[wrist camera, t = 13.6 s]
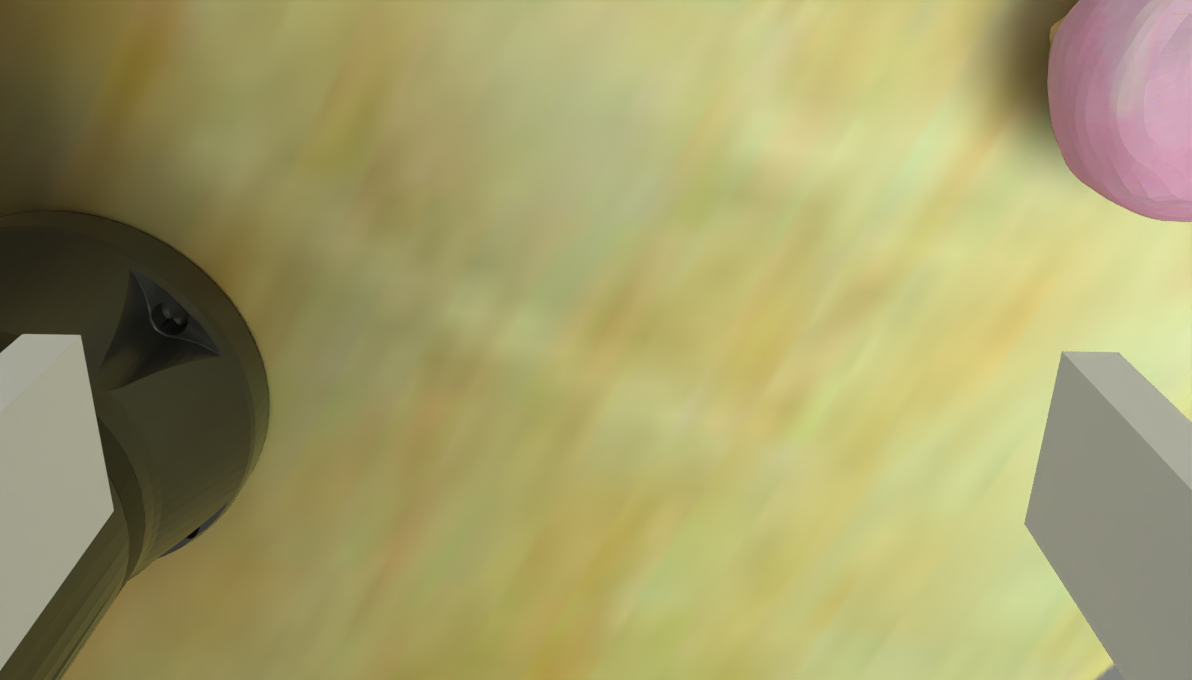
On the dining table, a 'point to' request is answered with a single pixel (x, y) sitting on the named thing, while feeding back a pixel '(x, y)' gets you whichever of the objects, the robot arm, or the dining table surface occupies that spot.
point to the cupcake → (1126, 101)
